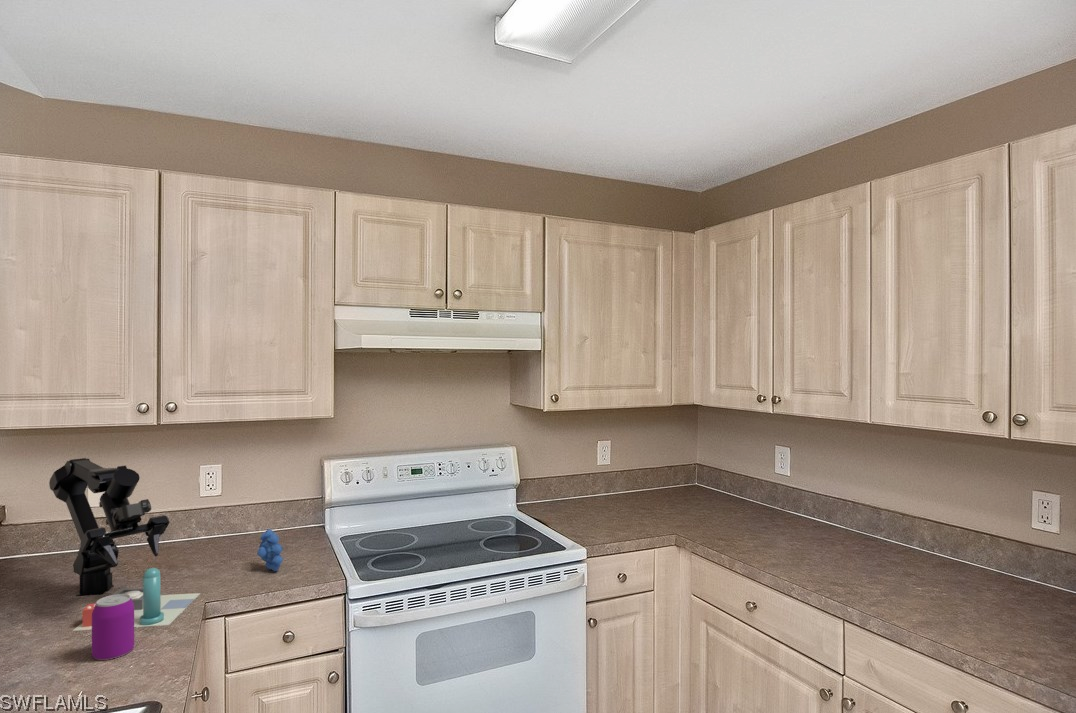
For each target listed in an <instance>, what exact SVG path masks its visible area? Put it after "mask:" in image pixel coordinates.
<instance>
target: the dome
mask: <svg viewBox="0 0 1076 713" xmlns="http://www.w3.org/2000/svg"><path fill="white" fill-rule="evenodd" d="M124 594H128V595H130V598H131V599H136V598H140V597H141V596H142V595H143V592H140V591H129V592H126V593H124Z"/></svg>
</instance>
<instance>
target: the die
mask: <svg viewBox="0 0 1076 713" xmlns="http://www.w3.org/2000/svg"><path fill="white" fill-rule="evenodd" d="M95 605H96V602H95V603H89V604H87V605H86V606H85V607H84V609H82V623H83V627H88V626H92V612H93V610H94V607H95Z"/></svg>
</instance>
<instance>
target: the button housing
mask: <svg viewBox="0 0 1076 713" xmlns="http://www.w3.org/2000/svg"><path fill="white" fill-rule="evenodd" d="M129 591H140V592H143V587H128V588H125V587H123V588H120V589H118V590H117V591H116V592H114V593H113V594H112V595H116V594H124V593H126V592H129ZM131 600H132V602H133V604H134V610H142V609H143V595H142V596H141V597H140V598H136V599H131Z"/></svg>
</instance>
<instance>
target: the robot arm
mask: <svg viewBox="0 0 1076 713" xmlns="http://www.w3.org/2000/svg"><path fill="white" fill-rule="evenodd" d="M139 481H140V475H139V473H138V472H137V471H135V470H134V469H130V468H127V465H120V466H117V467H108V468H107V467H103V466H101V465H99V464H96V463H94V462H93V461H91V460H90V458H86V457H82V458H80V457H79V458H74V459H72V458H71V459H69V460H66V462H65V464H64V465H62V466H60V467H59V468H58V469H56V470H55V471H53V473H52V475H51V477H50V478H49V489H50V491H52V492H53V494H54V496H55V498H56V499H57V500H60V501H62V502H63V503H65V505H66V506H67V510H68V512H69V514H70V516H71V520H72V522H73V524H74V527H75V530H76V532H77V535H78V537H79V541H80V547H79V549H78V552H77V556H76V558H75V560H74V562H73V564H72V568H73V573H75V574H77V575H78V576H79V592H78V593H77V594H75V596H76V597H85V596H102V595H104V594H106V593H107V592H108V591H110V590H111V589H112V588H114V587H115V585H114V584H113V573H112V572H111V569H112V568H116V567H118V566H119V564H118V563H119V562H118V558H119V549H118V546H117V545H116V543H115V541H114V539H119V538H125V537H128V536H133V535H139V534H141V533H145V536H146V537H147V538H146V541H147V543H148V545H149V548H150V551H151V552H152V554H153V556H154V557H158V555H159V547H160V546H159V544H160V543H159V542H160V537H161V536H162V535H164V533H165V532H166V530H167V528H168V526H169V524H170V523H171V521H170V518H169V517H168V516H167V515H166V514H162V515H157V516H152V517H150V518H149V519H148V521H147V522H146V523H143V524H138V523H141V521H142V518H141V517H143V516H145V515H146V514H148V513H149V512H151V511H152V505H151V502H150V500H149V499H148V498H147V499H141V500H140V501H138V502H137V503H130V500H129V498H130V497H131V496H132V494H133V493H134V490H135V489H136V487H137V486H138V485H137V484H138V483H139ZM87 488H88V489H89V490H90V491H91V492H92V493H93V494H100V493H102V494H101V495H100V497H99V504H98V506H99V507H100V508H102V509H103V512H104V516H105V517H106V520H105V524H106V526H109V531H107V530H106V528H105V527H100V526H99V525H98V524H99V523H98V522H97V519H96V517H95V515H94V512H93V510H92V507H91V505H90V502H89V500H88V498H87V497H88V496H87V495H86V489H87Z"/></svg>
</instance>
